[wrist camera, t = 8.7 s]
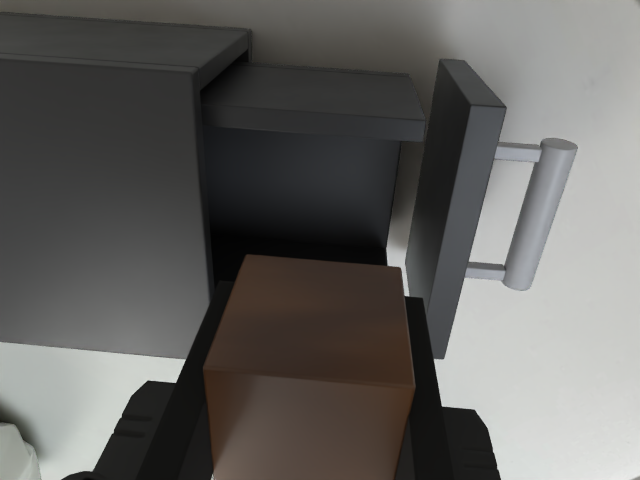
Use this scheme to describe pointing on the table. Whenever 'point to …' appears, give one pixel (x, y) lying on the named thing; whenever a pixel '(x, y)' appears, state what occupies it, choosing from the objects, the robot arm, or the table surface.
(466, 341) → the table surface
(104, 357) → the table surface
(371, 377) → the block
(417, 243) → the drawer
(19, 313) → the cabinet
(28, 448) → the vase
